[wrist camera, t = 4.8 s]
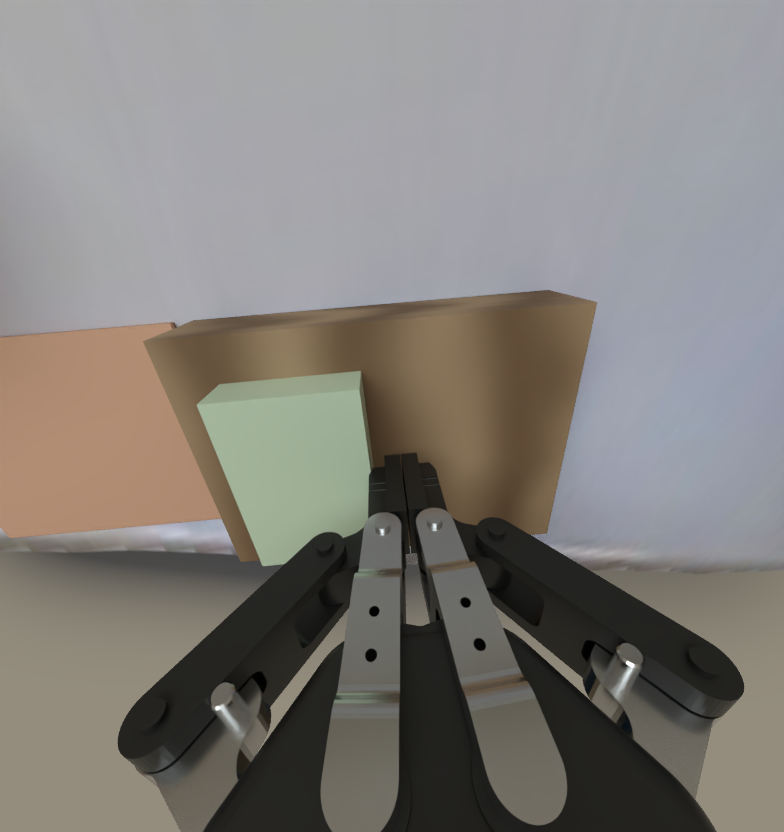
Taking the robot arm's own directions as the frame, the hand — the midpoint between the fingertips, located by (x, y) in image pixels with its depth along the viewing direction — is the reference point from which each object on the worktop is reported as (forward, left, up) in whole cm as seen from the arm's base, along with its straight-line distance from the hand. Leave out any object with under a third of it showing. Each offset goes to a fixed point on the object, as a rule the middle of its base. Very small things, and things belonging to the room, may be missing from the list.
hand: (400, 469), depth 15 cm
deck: (+1, 0, -5) cm, 5 cm away
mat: (+19, 0, -5) cm, 19 cm away
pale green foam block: (+4, 0, -1) cm, 4 cm away
